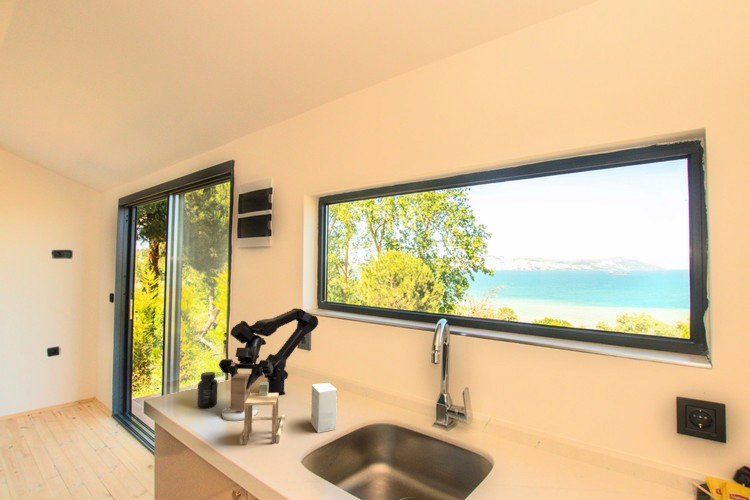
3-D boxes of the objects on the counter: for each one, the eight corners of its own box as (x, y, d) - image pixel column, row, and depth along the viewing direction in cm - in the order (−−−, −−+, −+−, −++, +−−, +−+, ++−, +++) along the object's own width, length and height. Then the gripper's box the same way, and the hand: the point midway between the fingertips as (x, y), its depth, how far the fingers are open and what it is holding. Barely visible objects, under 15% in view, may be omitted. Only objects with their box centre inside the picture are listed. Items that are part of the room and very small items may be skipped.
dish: (252, 405, 139) (252, 401, 139) (261, 416, 129) (261, 412, 129) (219, 411, 133) (219, 408, 133) (225, 423, 123) (225, 420, 123)
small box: (336, 429, 120) (337, 389, 121) (317, 433, 117) (318, 392, 118) (328, 420, 127) (329, 382, 128) (310, 423, 125) (311, 384, 125)
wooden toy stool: (249, 432, 117) (250, 382, 117) (277, 430, 118) (278, 381, 118) (243, 444, 109) (245, 390, 109) (274, 443, 110) (275, 390, 110)
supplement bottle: (220, 402, 141) (221, 371, 141) (210, 409, 134) (212, 376, 135) (203, 401, 142) (204, 370, 142) (193, 408, 135) (194, 375, 135)
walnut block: (236, 404, 133) (236, 373, 134) (249, 404, 133) (250, 373, 134) (230, 409, 128) (231, 377, 129) (244, 410, 128) (245, 378, 129)
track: (251, 419, 127) (251, 412, 127) (285, 417, 128) (285, 411, 128) (239, 444, 109) (239, 436, 109) (278, 443, 111) (278, 434, 111)
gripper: (221, 337, 136) (206, 376, 125) (271, 338, 136) (260, 378, 124) (230, 353, 144) (216, 391, 133) (277, 354, 143) (267, 393, 132)
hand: (239, 388), depth 130 cm, fingers closed on walnut block, 5 cm apart
